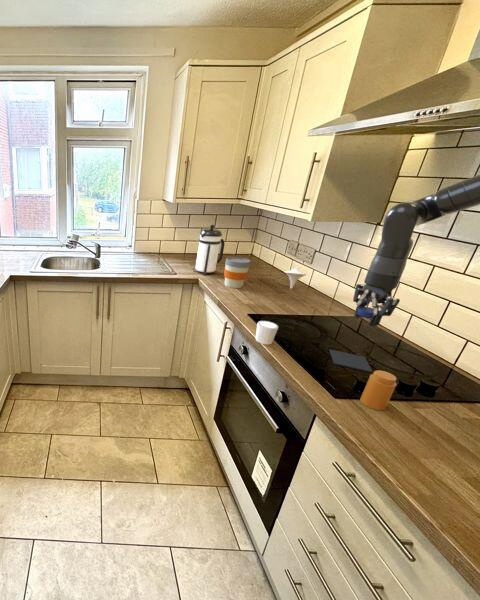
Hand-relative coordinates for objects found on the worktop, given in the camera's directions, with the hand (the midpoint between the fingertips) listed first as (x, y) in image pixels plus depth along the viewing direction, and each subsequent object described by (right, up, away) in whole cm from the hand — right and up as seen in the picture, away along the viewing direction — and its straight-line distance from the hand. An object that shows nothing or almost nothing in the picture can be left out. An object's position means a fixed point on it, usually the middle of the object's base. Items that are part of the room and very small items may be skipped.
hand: (365, 320), depth 101 cm
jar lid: (0, +3, -1) cm, 3 cm away
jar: (-10, -22, -13) cm, 28 cm away
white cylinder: (-22, -9, +19) cm, 30 cm away
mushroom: (+25, +13, +72) cm, 77 cm away
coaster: (0, -14, +6) cm, 16 cm away
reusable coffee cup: (-5, +15, +77) cm, 79 cm away
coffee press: (-11, +25, +101) cm, 104 cm away
